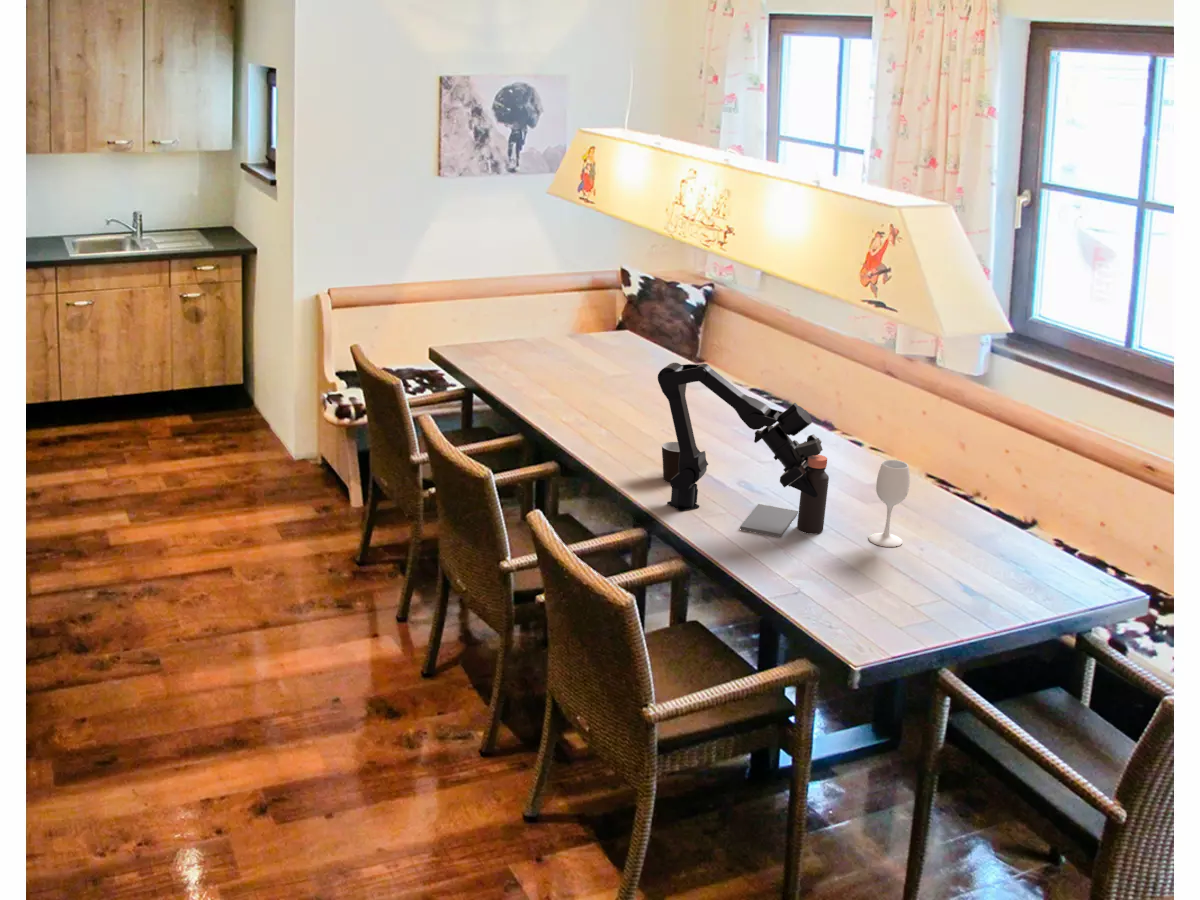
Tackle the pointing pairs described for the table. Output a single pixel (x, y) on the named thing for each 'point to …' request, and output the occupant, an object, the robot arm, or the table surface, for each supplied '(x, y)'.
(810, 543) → the table surface
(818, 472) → the vinegar
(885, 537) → the wineglass
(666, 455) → the coffee mug
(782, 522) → the gray board
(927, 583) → the table surface
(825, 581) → the table surface
